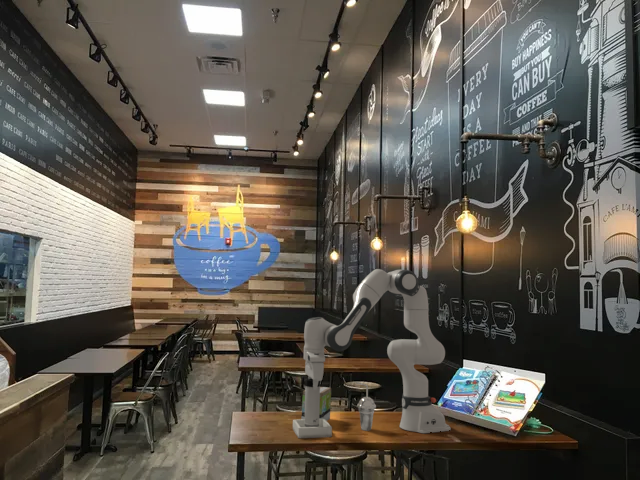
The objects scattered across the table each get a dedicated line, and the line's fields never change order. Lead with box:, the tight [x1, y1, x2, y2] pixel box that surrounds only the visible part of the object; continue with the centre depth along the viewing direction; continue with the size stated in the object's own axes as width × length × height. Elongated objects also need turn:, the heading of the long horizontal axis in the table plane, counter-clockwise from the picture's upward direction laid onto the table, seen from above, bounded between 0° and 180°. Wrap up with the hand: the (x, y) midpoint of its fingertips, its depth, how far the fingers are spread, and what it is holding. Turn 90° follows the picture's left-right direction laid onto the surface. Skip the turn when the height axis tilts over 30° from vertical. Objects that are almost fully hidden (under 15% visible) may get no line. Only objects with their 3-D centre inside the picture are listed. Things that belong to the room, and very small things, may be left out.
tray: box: [292, 418, 333, 439], centre depth 215 cm, size 14×14×4 cm
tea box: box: [300, 386, 332, 422], centre depth 236 cm, size 15×10×15 cm, turn 164°
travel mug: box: [304, 378, 321, 427], centre depth 216 cm, size 6×7×20 cm
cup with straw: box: [355, 381, 377, 431], centre depth 224 cm, size 8×9×20 cm
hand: (313, 388), depth 217 cm, fingers closed on travel mug, 6 cm apart
